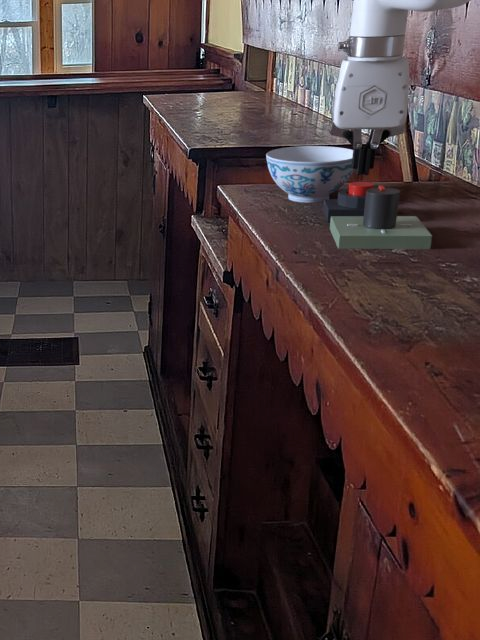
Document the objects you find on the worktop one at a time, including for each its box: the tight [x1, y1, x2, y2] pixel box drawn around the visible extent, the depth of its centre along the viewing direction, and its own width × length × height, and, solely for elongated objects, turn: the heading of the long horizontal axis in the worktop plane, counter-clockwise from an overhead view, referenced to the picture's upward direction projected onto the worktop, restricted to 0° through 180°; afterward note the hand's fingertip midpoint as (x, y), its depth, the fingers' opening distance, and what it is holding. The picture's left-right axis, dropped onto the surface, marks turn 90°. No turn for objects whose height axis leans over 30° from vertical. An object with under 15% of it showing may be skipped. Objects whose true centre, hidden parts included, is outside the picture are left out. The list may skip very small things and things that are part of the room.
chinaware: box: [265, 145, 355, 204], centre depth 149 cm, size 15×15×8 cm
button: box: [348, 181, 375, 196], centre depth 135 cm, size 4×4×2 cm
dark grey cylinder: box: [363, 184, 401, 229], centre depth 124 cm, size 4×4×5 cm
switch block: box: [322, 188, 366, 224], centre depth 136 cm, size 10×7×4 cm
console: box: [329, 215, 433, 250], centre depth 125 cm, size 12×11×2 cm
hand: (361, 173), depth 134 cm, fingers closed
